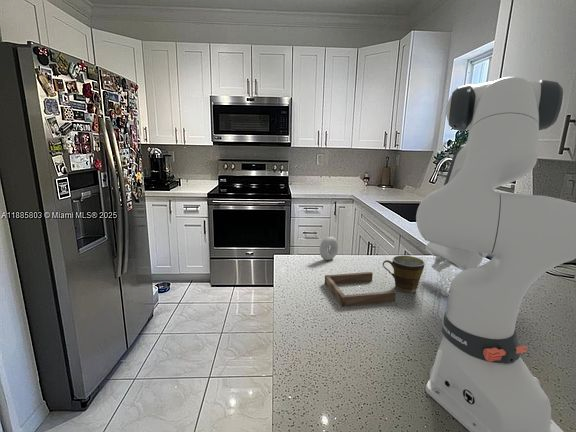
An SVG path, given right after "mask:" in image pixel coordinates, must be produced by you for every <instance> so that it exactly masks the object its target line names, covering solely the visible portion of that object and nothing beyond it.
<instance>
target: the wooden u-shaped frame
mask: <svg viewBox="0 0 576 432" xmlns="http://www.w3.org/2000/svg"><path fill="white" fill-rule="evenodd" d="M373 275H374V274H373V272H372V271H364V272H363V271H362V272H351V273H340V274H339V273H337V274H326V275H324V284H325V286H326V287H327V289H328V290H329V292H330V293H331V295H333V296H334V298H335V299H336V301H337V302H338V304H339V305H340V306H341V307H354V306H363V305H373V304H383V303H384V304H385V303H392V302H394V303H395V302H396V292H395V291H394V290H388V291H376V292H366V293H364V292H363V293H355V294H353V293H352V294H344V292H343V291H342V290H341V289H340V287H339V286H338V285H339V284H340V285H341V284H342V285H343V284H350V283H351V284H352V283H364V282H365V283H366V282H373Z"/></svg>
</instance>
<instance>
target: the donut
mask: <svg viewBox="0 0 576 432" xmlns="http://www.w3.org/2000/svg"><path fill="white" fill-rule="evenodd" d="M329 246H330V247H329ZM338 250H339V243H338V240H337V239H336V238H335V237H334V236H326V237H325V238H324V239H323V240H322V241H321V243H320V245H319V255H320V257H321V258H322V259H324V260H325V261H331V260H333V259H334V258H335V257H336V255H337V254H338Z"/></svg>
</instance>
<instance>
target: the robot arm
mask: <svg viewBox="0 0 576 432" xmlns="http://www.w3.org/2000/svg"><path fill="white" fill-rule="evenodd" d="M564 105H565V95H564V90H563V87H562V86H561V84H560V83H559V82H557V81H554V80H553V81H552V80H545V79H540V80H539V81H532V80H527V79H525V78H522V77H518V76H506V77H502V78H499V79H497V80H494V81H487V82H484V83H478V84H471V83H469V84H464V85H461V86H459V87H456V89H454V90H453V91H452V93H451V96H449V99H448V101H447V103H446V107H445V115H446V120H447V122H448V126H450V127H451V129H452V130H456V131H461V132H466V131H468V135H467V140H466V142H465V144H462V145H461V146H460V147H459V148H458V149H456V151H455V152H454V154H453V156H452V158H451V162H450V165H449V168H448V171H447V174H446V177H445V179H444V180H445V181H444V185H442V186H441V187H440V188H438V189H436V190H433V191H431V192H430V193H428V194H427V195H426V196H425V197H424V198H423V199H422V200H421V202H420V203H419V205H418V207H417V209H416V215H415V221H416V222H415V223H416V227H417V229H418V230H417V231H418V232H419V234H420V235H421V237H422V238H423V239H424V240H425V241H427V244H426V246H425V249H426V251H427V252H428V253H429V254H430V255H432V256H435V259H434V262H433V263H432V264H431V265H430V266H431V268H432V269H433V270H434V271H436V272H438V273H440V272H442V271H443V270H444V269H447V268H449V267H450V266H453V267H455V268H457V269H459V270H461V271H460V272H458V273H457V274H456V275H455V276H454V277H453V278H452V279H451V282H450V287H449V295H448V303H447V309H446V311H445V312H444V314H443V319H442V322H441V324H442V327H441V332H442V334H443V335H442V338H441V341H440V344H439V347H438V350H437V352H436V354H435V359H434V363H433V365H432V366H431V368H430V370H429V379H428V381H427V382H426V384H425V385H426V386H425V392H426V394H427V395H428V396H430V397H431V398H432V399H433V400H435V402H436V403H438V404H439V405H440V406H441V407H442V408H444V410H445V411H446V412H448V413H449V415H451V416H452V417H453V418H455V420H457V421H458V422H459V423H460V424H461V425H462V426H463V427H464V428H466V429H467V431H469V432H564V430H563V429H562V428H561V427H560V426H559V425H558V424H557V423H556V422H555V421H554V420H553V419H552V407H551V401H550V399H549V397H548V395H547V394H546V392H545V391H544V389H542V387H541V382H540V380H539V379H538V378H537V377H536V376H534V375H533V374H532V372H531V371H530V369H529V368H528V366H527V365H526V363H525V362H524V361H523V359H522V358H521V354H523V353H527V352H528V350H526V349H528V345H521V346H520V344H519V340H518V335H517V331H516V324H517V319H518V315H519V313H520V312H519V310H520V308H521V305H522V302H523V299H524V296H525V295H526V292H527V291H528V289H529V288H530V287H531V285H532V284H533V283H534V282H535V281H536V280H537V279H539V278H540V277H541V276H542V275H544V274H545V273H546V272H549V271H550V270H551V269H553V268H555V267H558V266H559V265H562V264H564V263H569V262H571V261H574V260H576V202H573V201H570V200H565V199H563V198H558V197H557V198H556V197H552V196H549V195H548V196H547V195H537V194H536V195H535V194H525V193H524V194H522V193H510V192H509V193H508V192H499V191H495V190H496V189H497V188H500V187H501V186H504V185H507V184H510V183H513V182H516V181H518V180H520V179H522V178H524V177H525V176H526V175H528V174H529V173H531V172H532V170H533V169H534V168H535V166H536V164H537V162H538V153H539V135H540V134H539V133H540V131H543V130H547V129H549V128H550V127H551V126H553V125H554V124H555V123H556V122H557V121H558V118H559V117H560V115H561V113H562V111H563V109H564V107H565V106H564ZM489 255H491V256H492V258H491V259H490V260H489V261H487V262H486V263H484V264H481V263H482V261H483V258H484V259H485V258H486V257H487V256H489ZM480 264H481V265H480Z"/></svg>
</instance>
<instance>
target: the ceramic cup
mask: <svg viewBox="0 0 576 432" xmlns="http://www.w3.org/2000/svg"><path fill="white" fill-rule="evenodd" d="M386 263H388V264H390V265H391V267H392V269H393V273H392V272H391V271H390V270H389V269H388V268H387V267H386V266H385V264H386ZM425 264H426V263H425V261H424V260H423V259H422V258H419V257H415V256H412V255H396V256H394V257H392V261H391V260H388V259H386V260H384V261H383V262H382V267H383V268H384V269H385V270H386V271H388V273H389V274H390V275H391V276H392V278H393V279H394V287H395V289H396V290H397V291H399V292H402V293H407V294H412V293H414V292H415V293H416V291H417V289H418V288H419V284H420V280H421V277H422V274H423V271H424V268H425V266H426V265H425Z"/></svg>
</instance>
